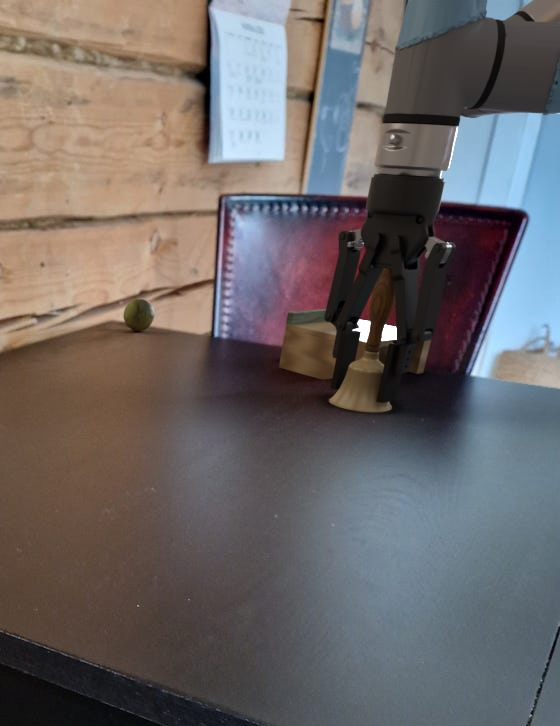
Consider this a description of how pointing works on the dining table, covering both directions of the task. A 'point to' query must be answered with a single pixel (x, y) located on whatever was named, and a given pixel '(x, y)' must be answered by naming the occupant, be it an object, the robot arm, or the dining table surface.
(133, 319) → the lime
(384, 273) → the hand bell
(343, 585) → the dining table surface
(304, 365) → the shelf
